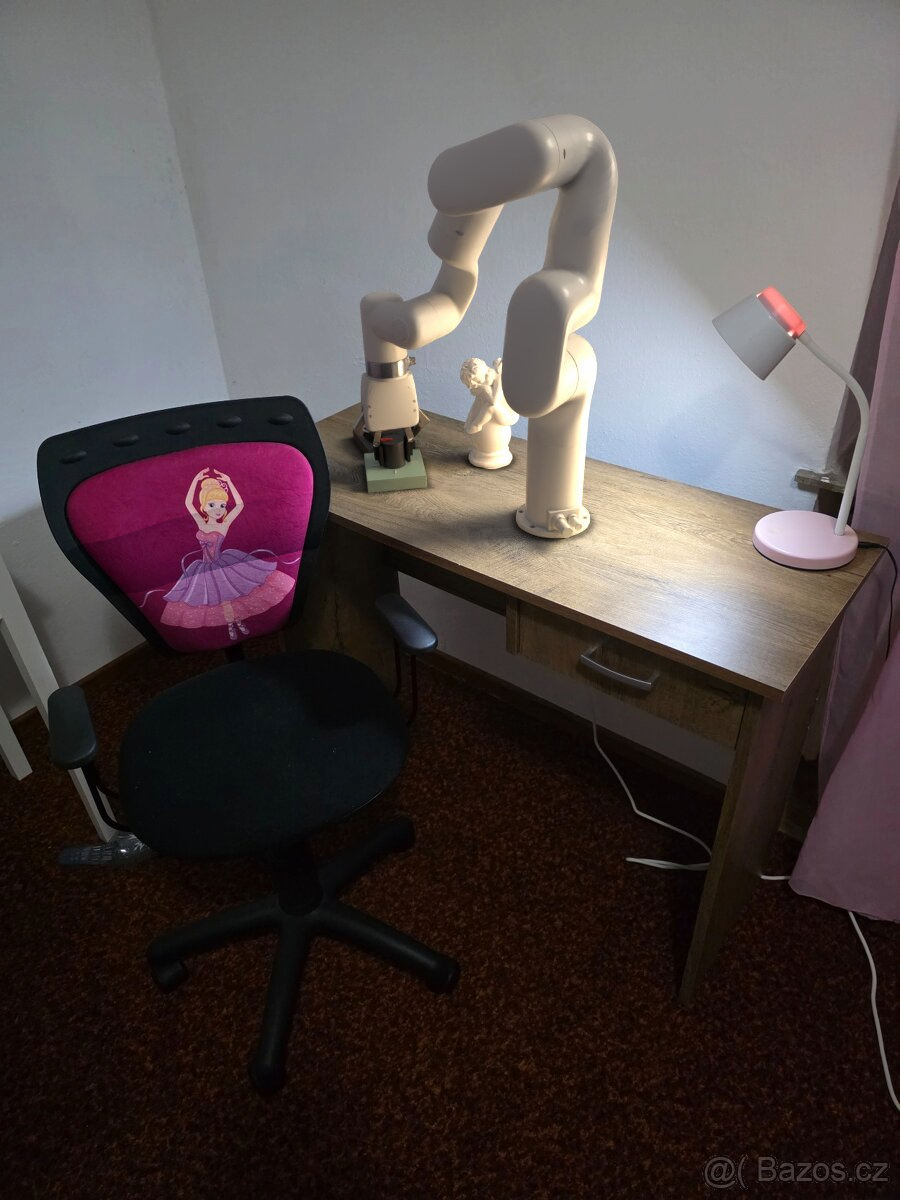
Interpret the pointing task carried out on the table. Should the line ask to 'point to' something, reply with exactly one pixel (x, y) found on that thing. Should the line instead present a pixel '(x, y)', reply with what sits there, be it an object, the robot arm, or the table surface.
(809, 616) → the table surface
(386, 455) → the dial
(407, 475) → the console
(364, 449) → the button box
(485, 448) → the cherub figurine
